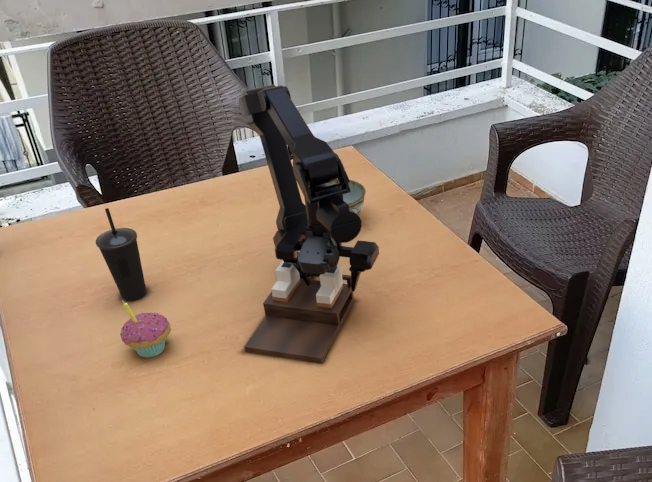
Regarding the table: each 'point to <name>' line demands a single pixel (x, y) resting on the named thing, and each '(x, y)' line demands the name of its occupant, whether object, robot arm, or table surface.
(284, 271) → the white l-shaped block
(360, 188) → the bowl
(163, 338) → the cupcake
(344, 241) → the robot arm
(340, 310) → the shoe rack
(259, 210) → the table surface
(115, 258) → the drinking cup
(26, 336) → the table surface
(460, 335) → the table surface
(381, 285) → the table surface
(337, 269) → the white stacked box shape
